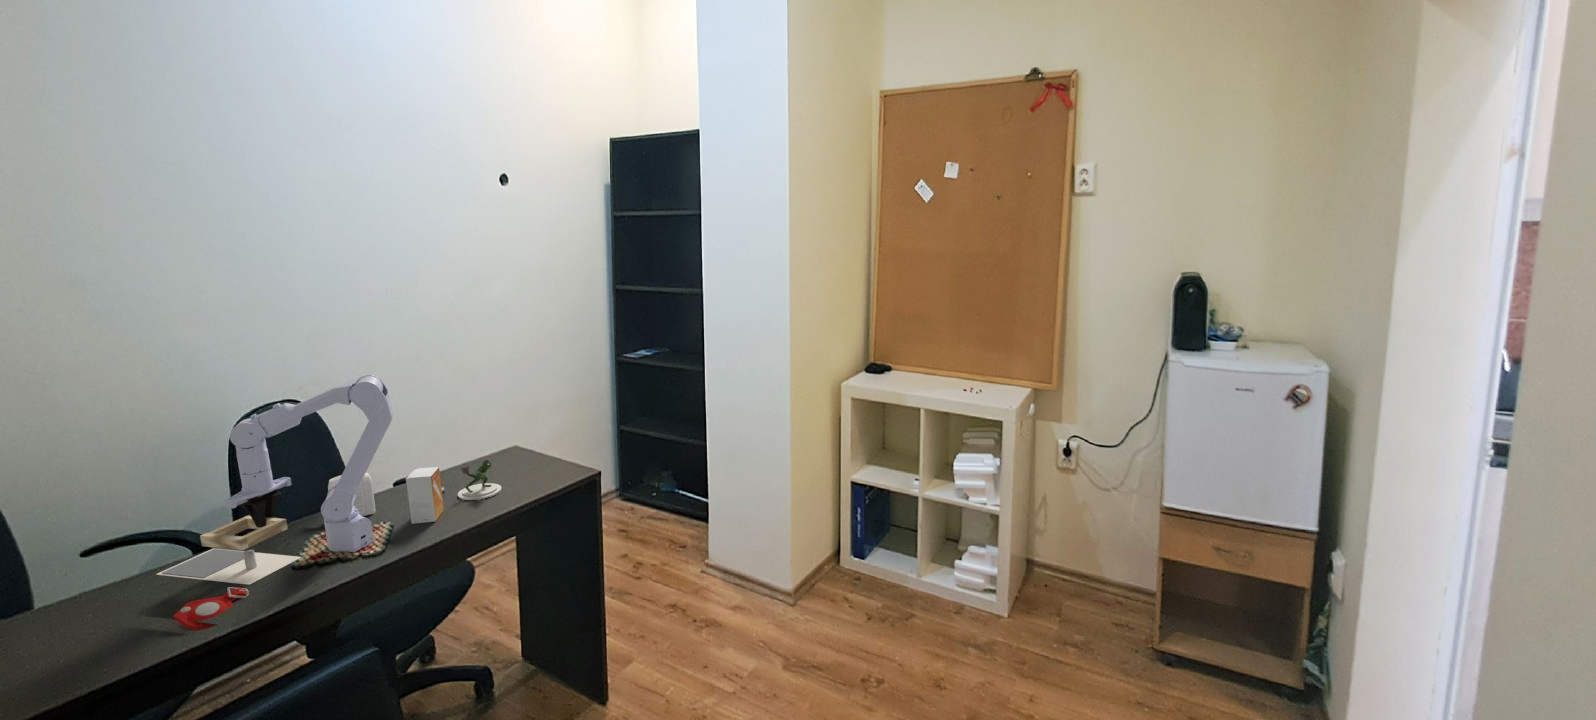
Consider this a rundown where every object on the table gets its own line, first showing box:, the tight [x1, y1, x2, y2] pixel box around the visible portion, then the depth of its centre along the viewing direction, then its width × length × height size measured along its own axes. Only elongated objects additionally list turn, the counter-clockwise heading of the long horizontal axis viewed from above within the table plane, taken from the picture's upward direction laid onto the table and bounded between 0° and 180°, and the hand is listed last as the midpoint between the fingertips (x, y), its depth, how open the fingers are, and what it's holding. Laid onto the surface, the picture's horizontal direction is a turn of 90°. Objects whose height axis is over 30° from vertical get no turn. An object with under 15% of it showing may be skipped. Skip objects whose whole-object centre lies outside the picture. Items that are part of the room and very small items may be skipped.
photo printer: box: [327, 472, 376, 517], centre depth 190 cm, size 10×4×12 cm, turn 123°
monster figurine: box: [457, 459, 503, 501], centre depth 205 cm, size 12×12×10 cm
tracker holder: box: [172, 586, 250, 631], centre depth 143 cm, size 12×4×10 cm
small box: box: [405, 466, 445, 525], centre depth 188 cm, size 8×6×13 cm
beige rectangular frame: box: [199, 515, 289, 551], centre depth 158 cm, size 11×11×2 cm
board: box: [155, 547, 302, 585], centre depth 160 cm, size 26×13×6 cm, turn 78°
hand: (265, 525), depth 162 cm, fingers closed on beige rectangular frame, 1 cm apart
